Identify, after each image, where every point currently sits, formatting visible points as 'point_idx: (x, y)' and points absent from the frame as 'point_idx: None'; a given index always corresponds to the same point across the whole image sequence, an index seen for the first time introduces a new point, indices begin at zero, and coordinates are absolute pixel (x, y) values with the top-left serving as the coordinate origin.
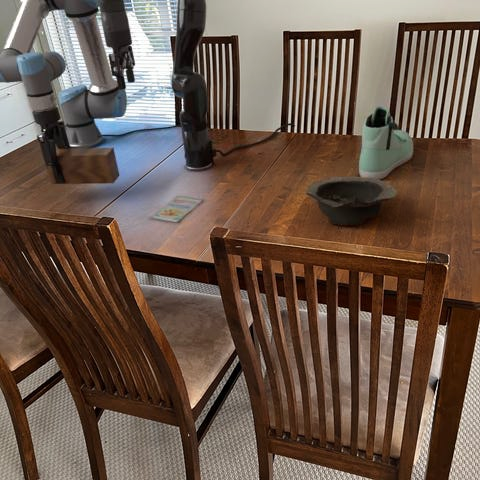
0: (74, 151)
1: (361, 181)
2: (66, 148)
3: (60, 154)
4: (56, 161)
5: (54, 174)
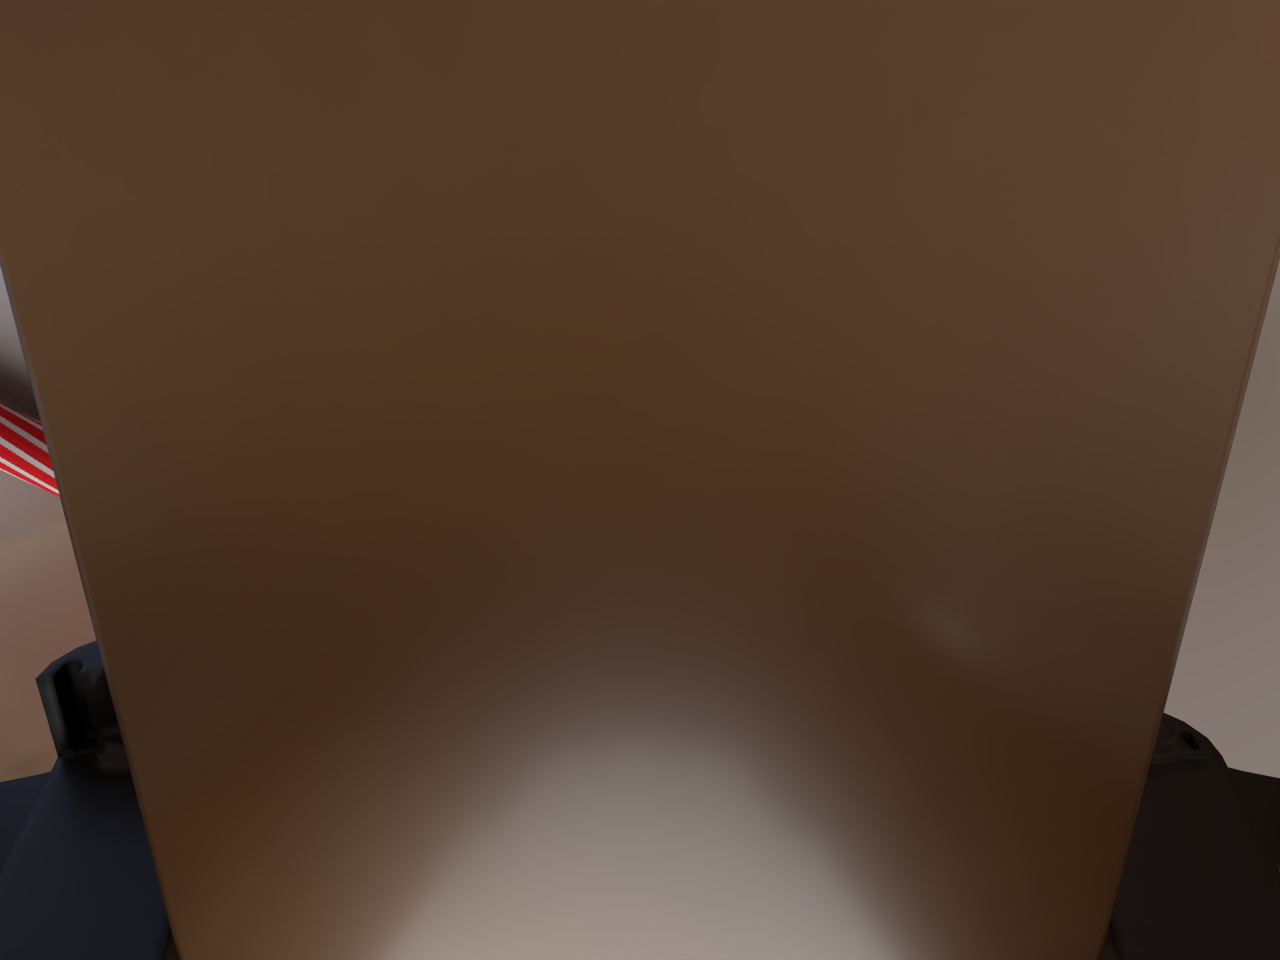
0: (564, 221)
1: None
2: (55, 906)
3: (968, 860)
4: (1177, 794)
5: None
